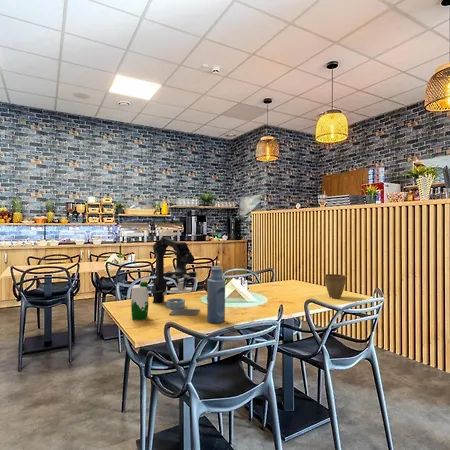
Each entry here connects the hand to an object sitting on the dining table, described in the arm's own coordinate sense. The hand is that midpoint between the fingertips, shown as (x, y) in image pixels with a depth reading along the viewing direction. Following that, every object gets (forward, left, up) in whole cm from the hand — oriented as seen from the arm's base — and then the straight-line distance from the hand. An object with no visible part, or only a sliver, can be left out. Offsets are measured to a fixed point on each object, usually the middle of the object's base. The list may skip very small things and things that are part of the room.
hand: (181, 288), depth 204 cm
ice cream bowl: (+15, +32, -13) cm, 38 cm away
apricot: (-5, +8, -11) cm, 14 cm away
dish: (-5, +8, -13) cm, 16 cm away
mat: (+3, -5, -13) cm, 15 cm away
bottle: (+23, -21, -13) cm, 34 cm away
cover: (0, 0, -2) cm, 2 cm away
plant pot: (+104, +42, -13) cm, 113 cm away
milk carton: (-20, -18, -13) cm, 30 cm away
